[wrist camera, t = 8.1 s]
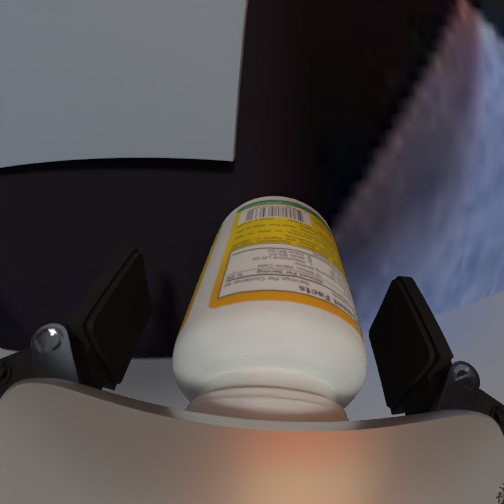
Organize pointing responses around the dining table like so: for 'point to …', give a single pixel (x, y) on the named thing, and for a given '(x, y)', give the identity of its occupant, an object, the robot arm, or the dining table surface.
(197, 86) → the felt mat
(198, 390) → the supplement bottle
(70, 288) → the dining table surface
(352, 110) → the dining table surface
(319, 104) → the dining table surface
